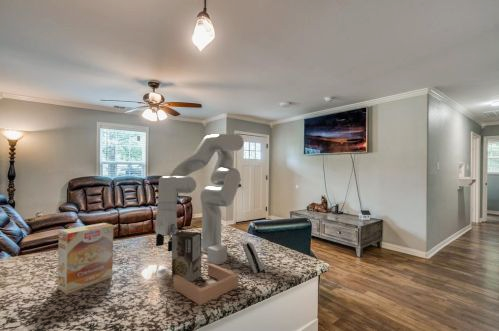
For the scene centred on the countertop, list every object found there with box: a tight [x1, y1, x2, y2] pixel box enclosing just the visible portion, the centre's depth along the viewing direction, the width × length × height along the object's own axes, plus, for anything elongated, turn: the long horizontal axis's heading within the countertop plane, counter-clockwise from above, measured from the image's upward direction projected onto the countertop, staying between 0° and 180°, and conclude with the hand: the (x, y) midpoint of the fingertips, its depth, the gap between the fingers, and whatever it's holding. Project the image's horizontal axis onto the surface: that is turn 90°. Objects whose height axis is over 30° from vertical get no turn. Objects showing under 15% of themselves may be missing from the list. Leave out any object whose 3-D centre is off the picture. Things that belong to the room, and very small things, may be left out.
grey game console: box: [242, 241, 268, 274], centre depth 104 cm, size 17×5×10 cm, turn 11°
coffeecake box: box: [57, 222, 114, 295], centre depth 86 cm, size 15×7×20 cm, turn 148°
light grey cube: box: [206, 245, 228, 266], centre depth 108 cm, size 6×6×6 cm
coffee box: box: [171, 230, 202, 283], centre depth 92 cm, size 9×6×16 cm
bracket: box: [172, 262, 240, 306], centre depth 84 cm, size 15×16×4 cm
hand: (165, 247), depth 101 cm, fingers open, 9 cm apart
